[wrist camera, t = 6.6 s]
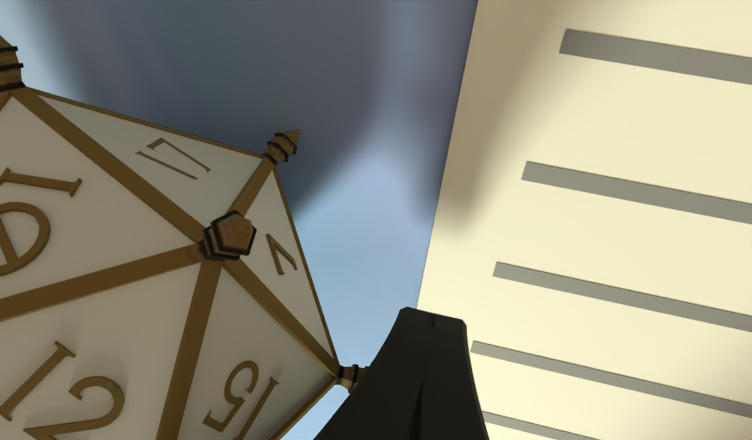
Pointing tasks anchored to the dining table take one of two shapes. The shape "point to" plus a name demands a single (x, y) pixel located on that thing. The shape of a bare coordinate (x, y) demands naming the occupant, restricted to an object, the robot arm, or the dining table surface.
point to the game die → (148, 281)
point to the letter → (602, 219)
